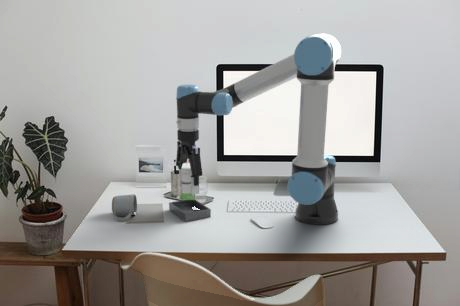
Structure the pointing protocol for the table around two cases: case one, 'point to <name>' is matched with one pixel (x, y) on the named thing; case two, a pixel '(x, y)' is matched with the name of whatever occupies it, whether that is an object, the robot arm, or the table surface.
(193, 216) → the tray
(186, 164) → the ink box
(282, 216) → the table surface
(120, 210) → the ceramic mug
